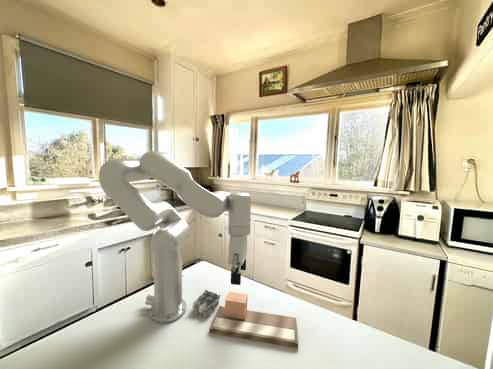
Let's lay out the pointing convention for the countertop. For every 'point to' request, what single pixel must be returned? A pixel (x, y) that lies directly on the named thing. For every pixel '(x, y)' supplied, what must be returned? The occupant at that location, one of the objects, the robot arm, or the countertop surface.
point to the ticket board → (257, 327)
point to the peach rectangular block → (236, 305)
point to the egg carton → (209, 298)
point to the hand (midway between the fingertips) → (238, 276)
